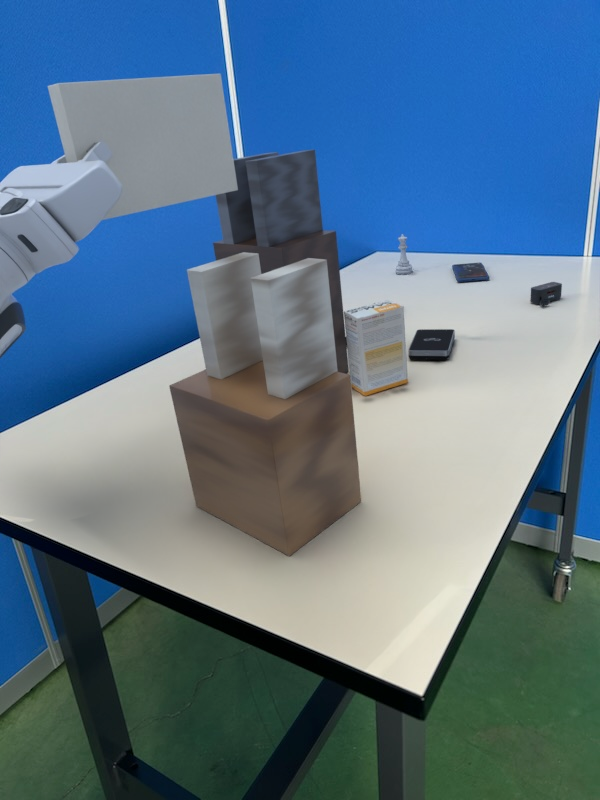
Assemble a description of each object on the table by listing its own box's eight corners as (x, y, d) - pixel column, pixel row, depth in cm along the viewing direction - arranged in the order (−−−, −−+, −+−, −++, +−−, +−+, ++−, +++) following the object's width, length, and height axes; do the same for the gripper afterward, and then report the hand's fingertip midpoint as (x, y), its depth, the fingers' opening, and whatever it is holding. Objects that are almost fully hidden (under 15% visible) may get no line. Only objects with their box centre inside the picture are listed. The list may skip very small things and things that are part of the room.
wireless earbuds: (525, 304, 129) (526, 288, 128) (552, 296, 131) (553, 281, 130) (542, 308, 125) (543, 293, 124) (569, 301, 127) (570, 285, 126)
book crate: (289, 556, 64) (248, 294, 53) (195, 506, 75) (144, 278, 63) (361, 501, 72) (340, 260, 60) (267, 462, 82) (233, 251, 71)
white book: (92, 222, 70) (58, 83, 64) (81, 221, 71) (47, 86, 65) (238, 190, 84) (220, 73, 78) (226, 190, 85) (208, 76, 79)
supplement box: (393, 374, 104) (388, 298, 98) (408, 383, 100) (405, 305, 94) (349, 387, 101) (342, 310, 96) (363, 397, 97) (357, 317, 92)
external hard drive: (455, 339, 115) (454, 329, 114) (448, 362, 106) (448, 351, 105) (417, 339, 118) (417, 329, 117) (408, 361, 108) (407, 351, 107)
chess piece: (414, 270, 165) (412, 232, 160) (410, 274, 161) (409, 235, 157) (397, 270, 166) (395, 232, 162) (394, 275, 163) (391, 236, 158)
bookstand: (301, 398, 100) (270, 159, 85) (236, 378, 110) (199, 163, 95) (348, 372, 107) (328, 148, 92) (283, 356, 118) (256, 153, 103)
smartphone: (457, 279, 148) (451, 264, 162) (457, 282, 149) (451, 267, 162) (490, 276, 147) (481, 261, 160) (490, 280, 147) (481, 265, 161)
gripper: (-7, 250, 74) (70, 174, 78) (78, 262, 60) (165, 169, 65) (-50, 207, 69) (34, 129, 74) (31, 210, 56) (127, 115, 61)
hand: (96, 148), depth 69 cm, fingers closed on white book, 2 cm apart
